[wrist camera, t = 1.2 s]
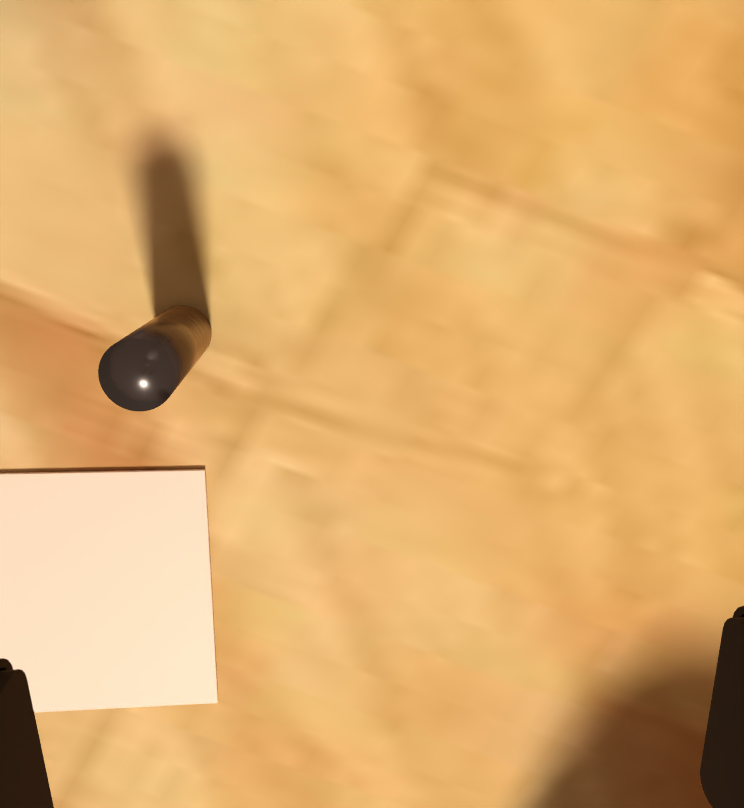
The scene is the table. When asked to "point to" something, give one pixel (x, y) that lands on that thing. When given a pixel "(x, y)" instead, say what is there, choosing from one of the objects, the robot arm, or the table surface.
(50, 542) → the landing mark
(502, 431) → the table surface
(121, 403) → the post
